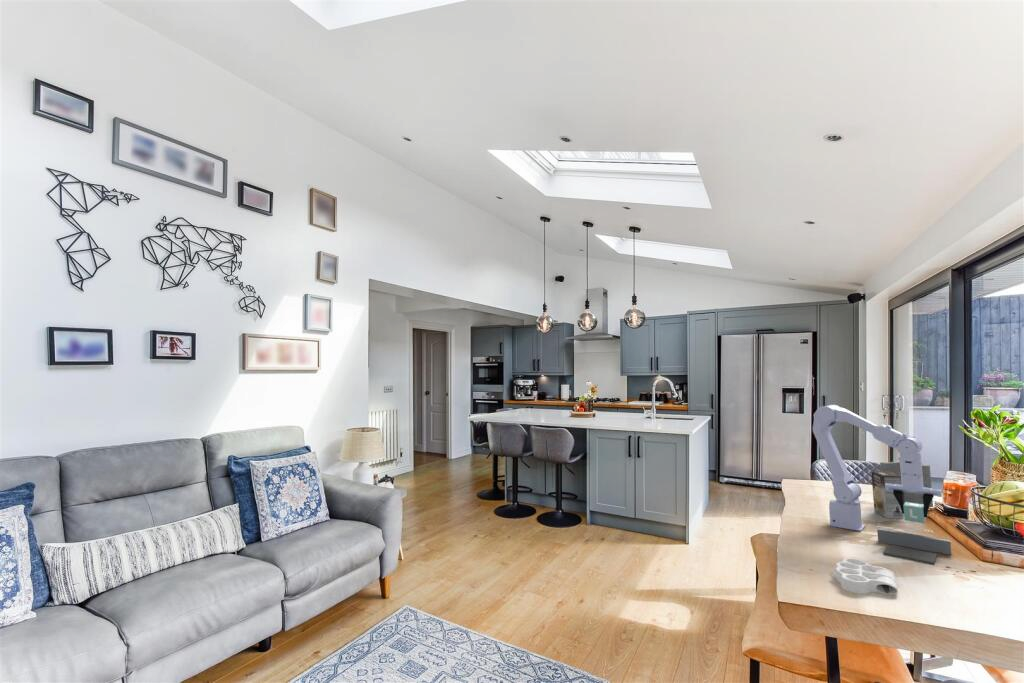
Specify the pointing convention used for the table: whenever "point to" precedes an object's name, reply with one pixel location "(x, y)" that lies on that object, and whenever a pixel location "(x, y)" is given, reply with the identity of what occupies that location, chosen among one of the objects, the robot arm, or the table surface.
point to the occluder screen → (914, 541)
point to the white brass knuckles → (864, 577)
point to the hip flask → (908, 497)
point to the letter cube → (914, 512)
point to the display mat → (910, 554)
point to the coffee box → (885, 494)
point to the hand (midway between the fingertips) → (914, 514)
